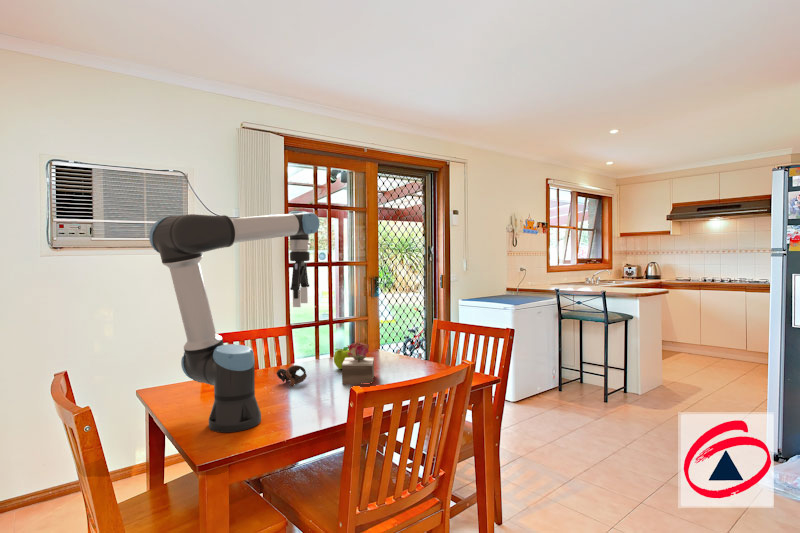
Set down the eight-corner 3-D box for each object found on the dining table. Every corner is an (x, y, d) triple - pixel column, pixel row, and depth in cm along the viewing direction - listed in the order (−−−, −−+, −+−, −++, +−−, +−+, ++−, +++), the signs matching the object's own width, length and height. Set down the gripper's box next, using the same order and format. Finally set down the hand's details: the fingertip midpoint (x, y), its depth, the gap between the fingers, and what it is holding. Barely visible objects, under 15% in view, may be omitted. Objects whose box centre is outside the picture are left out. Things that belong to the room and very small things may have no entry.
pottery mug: (306, 380, 188) (309, 365, 184) (301, 397, 180) (305, 381, 176) (277, 374, 187) (280, 359, 183) (271, 390, 178) (274, 374, 174)
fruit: (329, 369, 203) (329, 347, 203) (344, 365, 210) (344, 344, 210) (343, 373, 197) (343, 350, 197) (358, 368, 204) (358, 346, 204)
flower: (373, 359, 180) (372, 341, 185) (351, 356, 177) (351, 338, 181) (364, 368, 187) (364, 350, 192) (343, 366, 184) (343, 348, 188)
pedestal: (372, 384, 180) (372, 364, 179) (342, 384, 180) (342, 364, 179) (374, 376, 192) (373, 357, 191) (345, 376, 192) (345, 357, 191)
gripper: (302, 250, 165) (303, 308, 166) (315, 251, 190) (315, 301, 191) (282, 251, 165) (283, 309, 166) (297, 251, 190) (297, 301, 191)
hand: (300, 305), depth 178 cm, fingers open, 13 cm apart
